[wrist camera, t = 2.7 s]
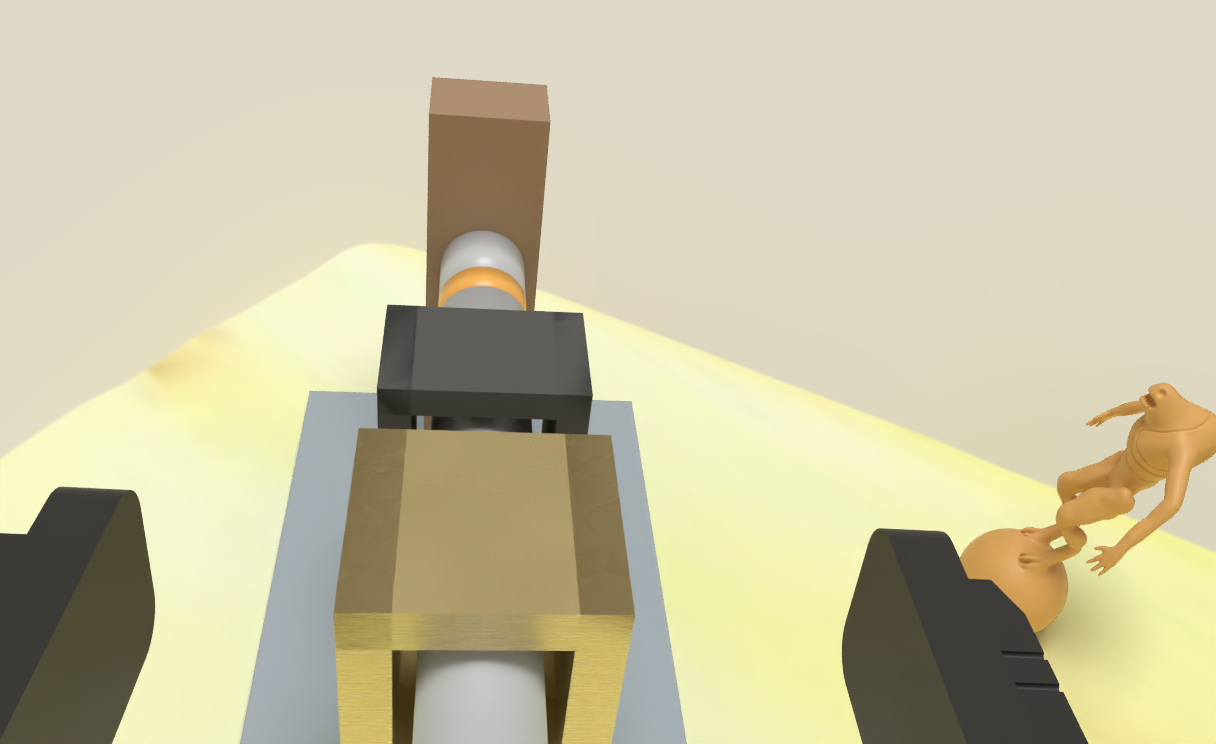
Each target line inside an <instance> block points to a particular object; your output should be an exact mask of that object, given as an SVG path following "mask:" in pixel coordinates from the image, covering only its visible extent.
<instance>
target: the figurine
mask: <svg viewBox="0 0 1216 744" xmlns="http://www.w3.org/2000/svg"><path fill="white" fill-rule="evenodd" d="M1149 392H1150V393H1149V394H1147V395H1144V396H1141V397H1140V401H1134V402H1129V403H1125V404H1122V405H1120V406H1118V407H1116V408H1113V409H1110V410H1108V411H1106V412H1104V413H1102V414H1100V415H1098V416H1097V417H1095V418H1093V419H1092V420H1091V421H1089V422H1088V423H1087V424H1086V425H1089V424H1090V426H1092V425H1094V424H1096V423H1098V422H1099V423H1098V424H1097V425H1096V426H1099V425H1100V424H1102V423H1103V422H1104V421H1106V420H1108V419H1111V418H1112V417H1115V416H1126V415H1133V414H1138V413H1141V412H1145V414H1144V415H1143V416H1142V417H1140V418H1139V419H1138V420H1137V421H1136V422H1135V423H1134V424H1133V426H1132V428H1131V430H1130V433H1129V436H1128V440H1127V448H1126V449H1125V451H1118V452H1117V453H1115V454H1114V455H1112V456H1109V457H1108V458H1105V459H1104V460H1102V461H1101V462H1099V463H1096V464H1092V465H1089V466H1087V467H1084V468H1081V469H1079V470H1076V471H1071V472H1065V473H1063V474H1062V475H1061V476H1060V477H1059V478H1058V483H1057V491H1058V494H1059V496H1060V498H1061V501H1062V503H1063V505H1062V506H1061V507H1060V508H1059V509H1058V511H1057V515H1056V523H1057V524H1055V525H1052V526H1049V527H1046V528H1043V529H1037V528H1033V527H1027V528H1024V529H1022V530H1019V529H997V530H993V531H990V532H987V533H985V534H983V535H981V536H979V537H978V538H976V539H975V540H974V541H972V542H971V543H970V544H969V545H968V546H967V548H966V549H965V550H964V552H963V553H962V555H961V557H960V561H961V563H962V565H963V567H964V570H965V572H966V574H967V576H968V579H988V580H992V581H993V582H994V583H995V584H996V585H997V586H998V587H999V588H1000V589H1001V590H1002V591H1003V592H1004V593H1005V594H1006V595H1007V596H1008V597H1009V598H1010V599H1011V600H1012V601H1013V602H1014V603H1015V604H1016V605H1017V606H1018V607H1019V608H1020V609H1021V610H1022V611H1023V612H1024V613H1025V615H1026V617H1027V619H1028V621H1029V623H1030V625H1031V627H1032V629H1033V631H1034V633H1036V632H1038V631H1040V630H1042V629H1044V628H1045V627H1047V626H1048V625H1049V624H1051V623H1052V622H1053V621H1054V620H1055V619H1056V617H1057V616H1058V615H1059V613H1060V612H1061V610H1062V608H1063V606H1064V604H1065V601H1066V597H1067V591H1068V580H1067V574H1066V570H1065V567H1064V565H1063V563H1062V561H1063V560H1066V559H1068V558H1070V557H1072V556H1074V555H1076V554H1078V553H1079V552H1080V551H1081V548H1082V547H1083V546H1084V545H1085V544H1086V542H1087V537H1086V534H1085V533H1084V531H1083V530H1082V529H1080V528H1079V526H1080V525H1085V524H1091V523H1094V522H1097V521H1100V520H1109V519H1113V518H1115V517H1116V516H1118V515H1121V514H1125V513H1128V512H1129V511H1131V510H1132V509H1133V507H1134V504H1135V500H1134V497H1133V496H1134V495H1135V494H1136V493H1138V492H1139V491H1141V490H1144V489H1147V488H1150V487H1152V486H1154V485H1155V484H1156V483H1158V482H1159V481H1160V480H1162V479H1165V478H1166V485H1165V496H1164V500H1163V501H1162V502H1161V503H1160V504H1159V505H1158V506H1157V507H1156V508H1155V509H1154V510H1153V511H1152V512H1151V513H1150V514H1149V515H1148V516H1147V517H1146V518H1145V519H1143V520H1142V521H1140V522H1139V523H1137V524H1136V525H1135V526H1134V527H1133V528H1131V529H1130V530H1129V531H1128V532H1127V533H1126V535H1125V536H1124V537H1123V538H1122V539H1121V540H1120V541H1119V543H1118V544H1117V545H1115V546H1114V547H1107V546H1099V547H1095V548H1094V549H1095V550H1101V551H1102V552H1103V553H1102V554H1101V555H1098V556H1096V557H1094V558H1093V559H1091V560H1088V561H1087V562H1086V563H1092V562H1095V561H1100V563H1099V564H1097V565H1096V566H1094V567H1093V568H1092V569H1091V571H1094V570H1097V569H1099V568H1100V567H1103V566H1104V569H1103V570H1102V571H1101V572H1100V573H1099V574H1098V576H1100V575H1102V574H1103V573H1105V572H1106V571H1108V570H1109V569H1110V568H1111V567H1113V566H1114V565H1115V564H1116V563H1117V562H1118V561H1119V560H1120V559H1121V558H1122V557H1123V555H1124V554H1125V553H1126V552H1127V551H1128V550H1129V549H1130V548H1132V547H1133V546H1135V545H1136V544H1138V543H1139V542H1141V541H1142V540H1143V539H1145V538H1146V537H1147V536H1149V535H1150V534H1151V533H1152V532H1153V531H1154V530H1156V529H1157V528H1158V527H1159V526H1161V525H1162V524H1163V523H1165V522H1166V521H1168V520H1169V519H1170V518H1172V517H1173V516H1174V514H1176V513H1177V512H1178V510H1179V509H1180V507H1181V505H1182V502H1183V499H1184V496H1185V492H1186V488H1187V485H1188V480H1189V475H1190V472H1191V469H1192V468H1193V467H1195V466H1197V465H1199V464H1201V463H1203V462H1204V461H1206V460H1208V459H1209V458H1210V457H1212V456H1213V455H1214V454H1215V453H1216V415H1215V414H1214V413H1212V412H1211V411H1209V410H1206V409H1204V408H1202V407H1200V406H1198V405H1195V404H1193V403H1191V402H1189V401H1187V400H1186V399H1185V398H1183V397H1182V396H1181V395H1180V394H1179V393H1178V392H1177V391H1176V389H1175V388H1173V387H1172V386H1171V385H1170V384H1167V383H1160V384H1156V385H1153V386H1151V387H1150V388H1149ZM1150 394H1151V395H1150ZM1080 492H1083V493H1081V494H1080V495H1079V496H1078V497H1077V496H1076V495H1075V494H1076V493H1080ZM1061 536H1063V537H1064V539H1065V541H1066V542H1067V545H1064V546H1062V547H1059V548H1056V549H1053V548H1052V547H1051V546H1050V542H1051V541H1053V540H1055V539H1057V538H1059V537H1061Z"/></svg>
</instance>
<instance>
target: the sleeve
mask: <svg viewBox="0 0 1216 744" xmlns="http://www.w3.org/2000/svg"><path fill="white" fill-rule="evenodd" d="M333 617H334V636H335V655H336V674H337V693H338V712H339V731H340V744H412V740H413V723H414V706H415V689H416V672H417V655H418V650H467V651H543V656H544V676H545V696H546V716H547V737H548V744H611V743H612V738H613V732H614V727H615V721H616V716H617V711H618V705H619V700H620V694H621V689H622V684H623V678H624V673H625V667H626V662H627V657H628V651H629V646H630V640H631V635H632V630H633V624H634V619H635V610H634V602H633V595H632V588H631V580H630V573H629V565H628V558H627V550H626V543H625V535H624V528H623V520H622V513H621V505H620V498H619V490H618V483H617V475H616V468H615V460H614V453H613V446H612V438H611V435H587V434H552V433H517V432H482V431H447V430H412V429H377V428H359V429H358V437H357V444H356V451H355V458H354V466H353V473H352V480H351V488H350V495H349V502H348V509H347V517H346V524H345V531H344V539H343V546H342V553H341V560H340V568H339V575H338V582H337V590H336V597H335V604H334V611H333Z"/></svg>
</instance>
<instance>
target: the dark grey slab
mask: <svg viewBox="0 0 1216 744" xmlns="http://www.w3.org/2000/svg"><path fill="white" fill-rule="evenodd" d="M592 397H593V394H592V386H591V377H590V369H589V361H588V352H587V344H586V335H585V327H584V319H583V313H569V312H545V311H522V310H499V309H476V308H452V307H429V306H406V305H387V311H386V320H385V328H384V336H383V344H382V352H381V360H380V368H379V377H378V385H377V419H378V429H412V430H417V416H440V417H473V418H507V419H540V420H543V421H542V431H541V433H552V434H587V435H588V428H589V420H590V413H591V405H592Z"/></svg>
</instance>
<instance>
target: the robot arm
mask: <svg viewBox="0 0 1216 744" xmlns="http://www.w3.org/2000/svg"><path fill="white" fill-rule="evenodd" d="M154 618H155V596H154V589H153V582H152V576H151V570H150V563H149V557H148V551H147V544H146V538H145V532H144V525H143V519H142V513H141V507H140V502H139V499H138V497H137V495H136V493H135V492H134V491H132V490H117V489H97V488H76V487H58V488H56V489H55V490H54V491H53V492H52V493H51V494H50V496H49V497H48V499H47V501H46V502H45V504H44V506H43V508H42V509H41V511H40V513H39V514H38V516H37V518H36V520H35V521H34V523H33V525H32V526H31V528H30V530H29V531H28V533H27V534H5V533H0V744H112V742H113V739H114V737H115V734H116V732H117V729H118V727H119V724H120V722H121V719H122V717H123V714H124V712H125V709H126V707H127V704H128V702H129V699H130V697H131V694H132V691H133V689H134V686H135V684H136V681H137V679H138V676H139V674H140V671H141V669H142V666H143V664H144V661H145V659H146V656H147V653H148V650H149V647H150V643H151V638H152V633H153V627H154ZM1043 654H1044V652H1043V650H1042V647H1041V645H1040V643H1039V641H1038V639H1037V637H1036V635H1035V633H1034V631H1033V629H1032V627H1031V625H1030V623H1029V621H1028V619H1027V617H1026V615H1025V613H1024V612H1023V611H1022V610H1021V609H1020V608H1019V607H1018V606H1017V605H1016V604H1015V603H1014V602H1013V601H1012V600H1011V599H1010V598H1009V597H1008V596H1007V595H1006V594H1005V593H1004V592H1003V591H1002V590H1001V589H1000V588H999V587H998V586H997V585H996V584H995V583H994V582H993V581H992V580H988V579H968V576H967V574H966V572H965V570H964V567H963V565H962V563H961V561H960V558H959V556H958V554H957V552H956V549H955V547H954V545H953V543H952V541H951V539H950V537H949V536H948V535H947V534H946V533H945V532H942V531H923V530H902V529H882V528H880V529H877V530H875V531H874V533H873V534H872V536H871V538H870V541H869V544H868V547H867V550H866V554H865V557H864V561H863V564H862V568H861V571H860V574H859V578H858V581H857V585H856V588H855V592H854V595H853V598H852V602H851V605H850V609H849V612H848V616H847V619H846V623H845V627H844V632H843V641H842V664H843V673H844V679H845V683H846V687H847V690H848V694H849V697H850V701H851V704H852V708H853V711H854V715H855V718H856V722H857V725H858V729H859V732H860V736H861V740H862V743H863V744H1088V742H1087V740H1086V738H1085V736H1084V734H1083V732H1082V730H1081V728H1080V725H1079V723H1078V721H1077V719H1076V717H1075V715H1074V713H1073V711H1072V709H1071V707H1070V705H1069V703H1068V701H1067V699H1066V697H1065V695H1064V693H1063V692H1060V691H1059V682H1058V680H1057V678H1056V676H1055V674H1054V672H1053V670H1052V668H1051V666H1050V664H1049V662H1048V660H1044V657H1043Z"/></svg>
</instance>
